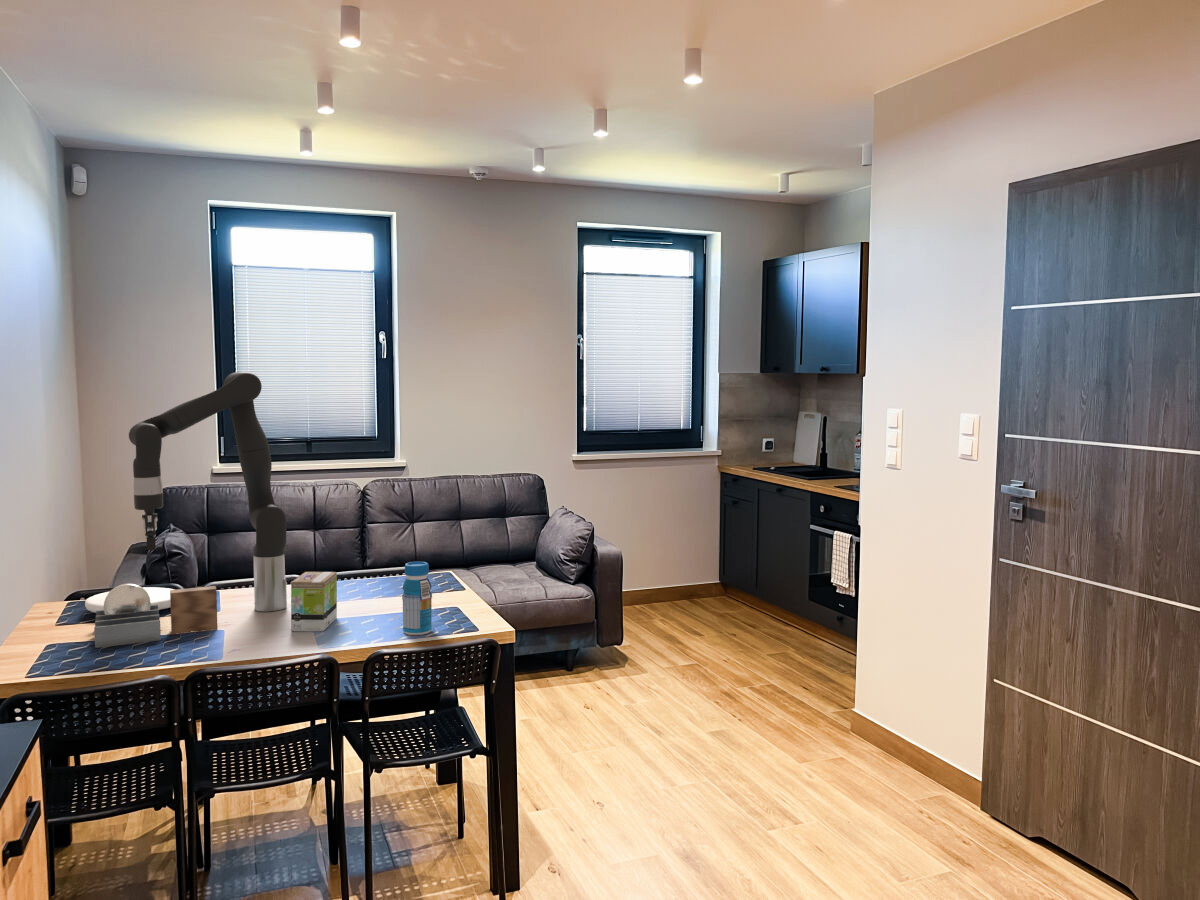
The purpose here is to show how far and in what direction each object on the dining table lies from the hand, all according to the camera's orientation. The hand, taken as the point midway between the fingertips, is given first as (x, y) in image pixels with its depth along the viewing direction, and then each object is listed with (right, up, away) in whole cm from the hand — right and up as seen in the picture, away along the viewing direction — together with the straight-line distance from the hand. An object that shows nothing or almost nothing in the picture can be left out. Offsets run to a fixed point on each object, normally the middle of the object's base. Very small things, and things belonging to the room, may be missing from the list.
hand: (151, 547), depth 260 cm
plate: (-16, -22, +22) cm, 36 cm away
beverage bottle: (+78, -25, -1) cm, 81 cm away
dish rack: (-4, -24, -6) cm, 25 cm away
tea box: (+46, -24, +6) cm, 52 cm away
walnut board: (+13, -24, -1) cm, 27 cm away
